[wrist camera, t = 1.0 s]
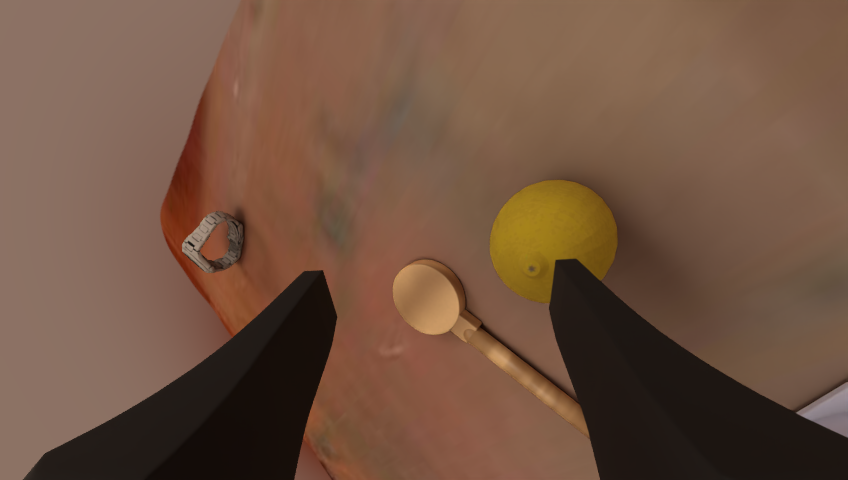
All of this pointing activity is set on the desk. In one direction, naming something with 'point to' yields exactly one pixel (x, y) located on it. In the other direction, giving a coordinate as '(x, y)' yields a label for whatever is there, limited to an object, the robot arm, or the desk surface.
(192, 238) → the wristwatch
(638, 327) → the robot arm
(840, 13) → the desk surface
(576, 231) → the lemon
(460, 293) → the spoon
